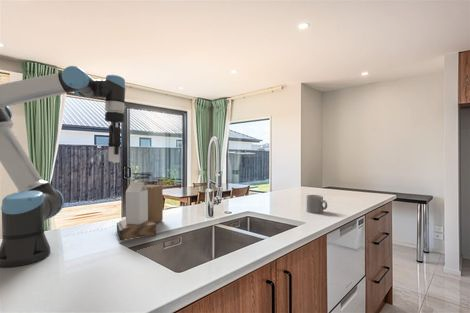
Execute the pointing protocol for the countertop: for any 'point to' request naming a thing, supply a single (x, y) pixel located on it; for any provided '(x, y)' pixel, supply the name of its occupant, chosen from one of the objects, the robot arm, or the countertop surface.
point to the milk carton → (136, 203)
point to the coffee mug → (315, 204)
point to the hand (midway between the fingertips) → (113, 162)
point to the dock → (135, 229)
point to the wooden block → (155, 202)
